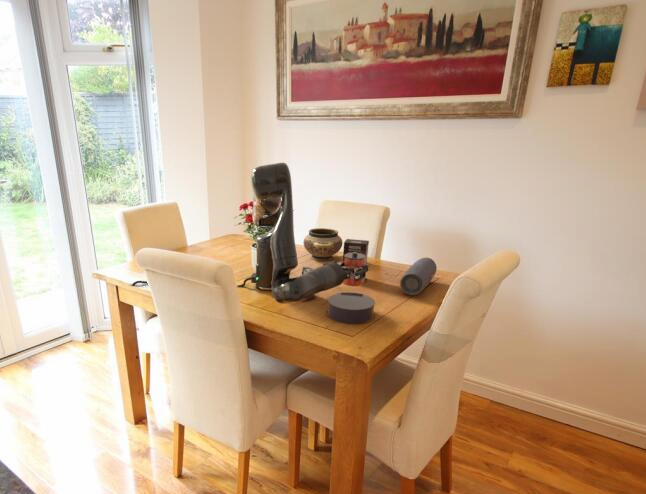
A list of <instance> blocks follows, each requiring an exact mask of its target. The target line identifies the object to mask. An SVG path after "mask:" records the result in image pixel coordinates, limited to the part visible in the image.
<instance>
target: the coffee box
mask: <svg viewBox="0 0 646 494" xmlns="http://www.w3.org/2000/svg"><path fill="white" fill-rule="evenodd" d="M369 244H370V240H364V239H355V238H354V239H353V238H346V239H345V241H343V252H342V262H345V257H344V255H345V254H347V253H353V252H357V253H360V254H363V255H365V258H364V265H368V253H369V246H370V245H369ZM365 280H366V277H364V278H363V280H362V284H364V282H365Z"/></svg>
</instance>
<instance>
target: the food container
mask: <svg viewBox="0 0 646 494" xmlns="http://www.w3.org/2000/svg"><path fill="white" fill-rule="evenodd" d="M314 269H315V268H313V267H309V266H302V271H301V273H300V275H302V274H303V273H306V272H309V271H311V270H314ZM314 298H315V294H314V295H312V296H311V297H309V298H308V299H306V300H304V301H303V302H308V301H312V300H313V299H314Z"/></svg>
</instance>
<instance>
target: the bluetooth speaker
mask: <svg viewBox="0 0 646 494" xmlns="http://www.w3.org/2000/svg"><path fill="white" fill-rule="evenodd" d="M437 267H438V266H437V263H436V262H435V261H434V259H432V258H430V257H422V258H420V259H417V260H416V261H415V262H413V264H412V265H410V266H409V268H408V269H407V270H406V271H405V272H404V274H403V275H402V276H401V279H400V282H399V285H400V286H399V287H400V289H401V290H402V292H403V293H404V294H407V295H410V296H416V295H418V294H420V293H421V292H423V291H424V290H425V289H426V288H427V286H428V285H429V284H430V283H431V281H432V280H433V278H434V277H435V275H436V272H437Z"/></svg>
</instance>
